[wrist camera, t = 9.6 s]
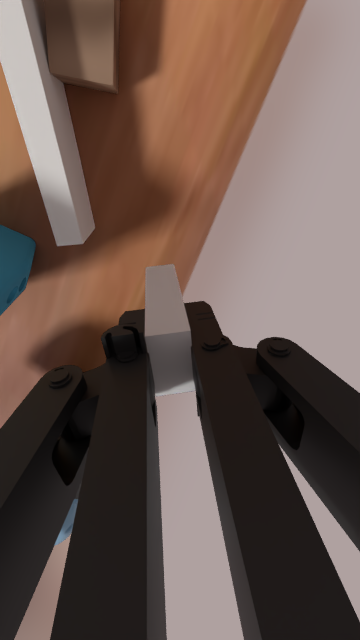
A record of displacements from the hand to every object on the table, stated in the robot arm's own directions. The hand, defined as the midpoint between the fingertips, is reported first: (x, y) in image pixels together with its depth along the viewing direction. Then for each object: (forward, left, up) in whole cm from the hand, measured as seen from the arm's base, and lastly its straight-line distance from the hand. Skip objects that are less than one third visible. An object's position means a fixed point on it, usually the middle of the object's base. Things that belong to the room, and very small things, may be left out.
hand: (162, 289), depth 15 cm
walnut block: (+17, +5, -27) cm, 32 cm away
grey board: (+9, +11, -27) cm, 30 cm away
